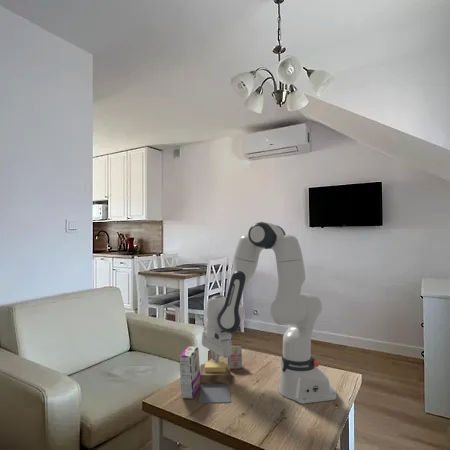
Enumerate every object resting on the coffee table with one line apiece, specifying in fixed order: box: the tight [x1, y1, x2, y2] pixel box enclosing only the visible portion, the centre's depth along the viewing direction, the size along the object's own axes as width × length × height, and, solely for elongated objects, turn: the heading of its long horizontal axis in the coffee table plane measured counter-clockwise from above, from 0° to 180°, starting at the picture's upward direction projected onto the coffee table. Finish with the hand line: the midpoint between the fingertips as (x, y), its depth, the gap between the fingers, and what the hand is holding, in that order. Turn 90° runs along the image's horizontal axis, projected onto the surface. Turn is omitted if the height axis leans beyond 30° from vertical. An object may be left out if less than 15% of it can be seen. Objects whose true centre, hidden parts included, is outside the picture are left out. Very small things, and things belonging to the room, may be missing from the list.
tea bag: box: [226, 345, 243, 370], centre depth 155 cm, size 4×7×10 cm, turn 99°
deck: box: [200, 363, 232, 386], centre depth 143 cm, size 13×11×4 cm
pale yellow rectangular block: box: [204, 361, 227, 372], centre depth 143 cm, size 9×6×2 cm, turn 92°
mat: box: [198, 384, 232, 404], centre depth 130 cm, size 12×14×1 cm
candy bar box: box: [178, 345, 201, 400], centre depth 131 cm, size 11×5×16 cm, turn 168°
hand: (215, 361), depth 150 cm, fingers closed
